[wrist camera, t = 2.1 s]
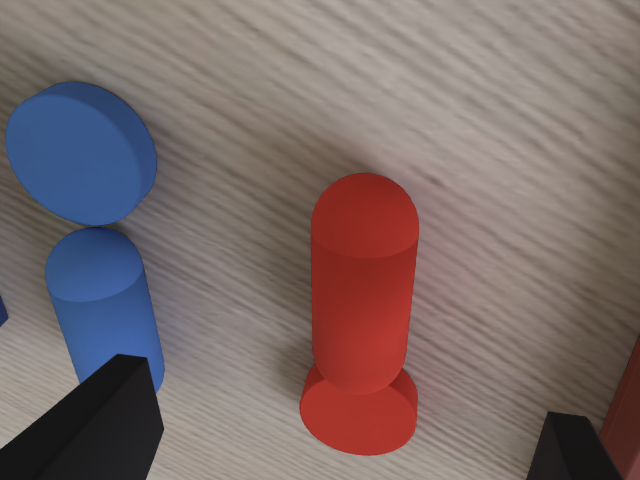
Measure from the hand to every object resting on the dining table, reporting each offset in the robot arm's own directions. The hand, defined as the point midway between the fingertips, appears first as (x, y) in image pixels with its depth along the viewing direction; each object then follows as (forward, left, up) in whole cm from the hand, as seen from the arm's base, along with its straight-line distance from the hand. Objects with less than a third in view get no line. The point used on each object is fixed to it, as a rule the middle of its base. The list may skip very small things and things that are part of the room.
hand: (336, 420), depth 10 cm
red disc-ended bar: (-2, 0, -5) cm, 5 cm away
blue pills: (0, +7, -5) cm, 9 cm away
